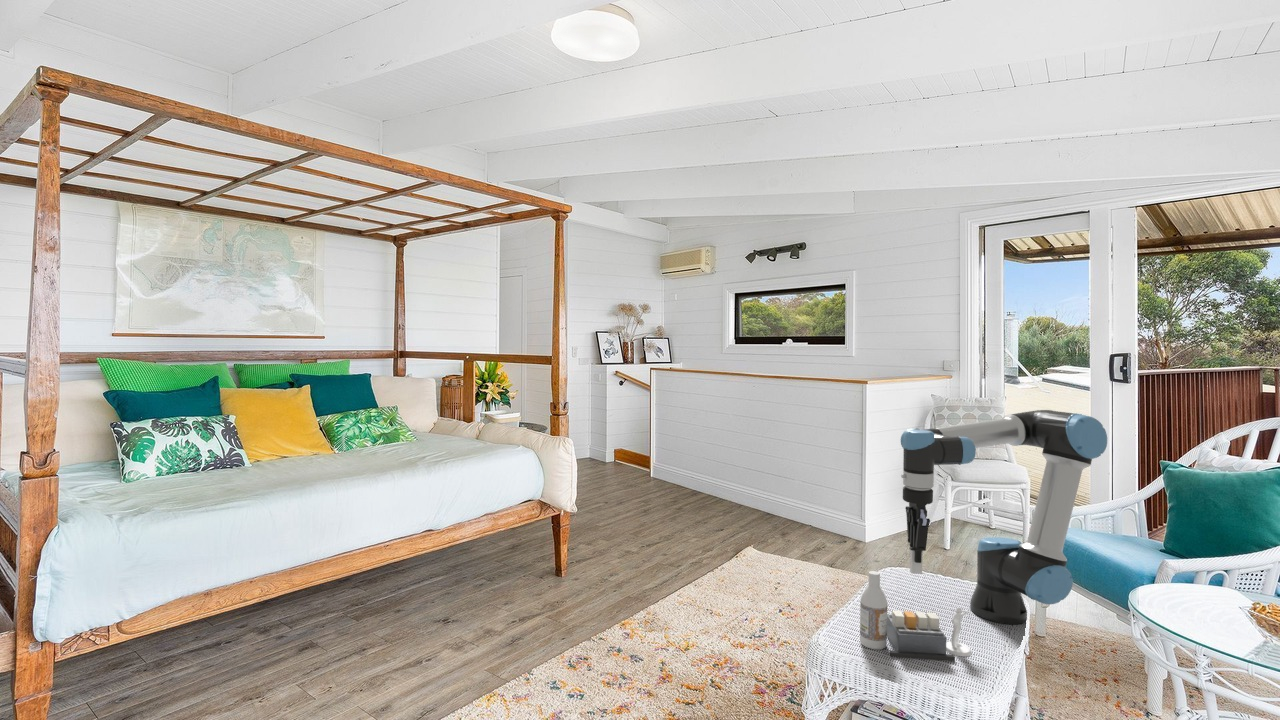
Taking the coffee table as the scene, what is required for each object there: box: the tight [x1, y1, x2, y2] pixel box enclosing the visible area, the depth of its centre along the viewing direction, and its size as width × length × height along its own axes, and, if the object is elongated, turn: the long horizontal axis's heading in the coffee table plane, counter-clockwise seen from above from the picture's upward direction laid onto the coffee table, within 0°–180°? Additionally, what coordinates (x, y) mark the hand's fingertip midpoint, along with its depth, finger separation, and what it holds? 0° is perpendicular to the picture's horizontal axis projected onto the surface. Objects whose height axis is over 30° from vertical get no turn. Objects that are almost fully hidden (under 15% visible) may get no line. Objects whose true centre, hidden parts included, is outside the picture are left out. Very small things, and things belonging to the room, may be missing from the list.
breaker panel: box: [887, 613, 947, 655], centre depth 167 cm, size 12×12×7 cm
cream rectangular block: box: [925, 612, 940, 630], centre depth 166 cm, size 2×4×3 cm, turn 172°
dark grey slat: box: [889, 649, 956, 662], centre depth 161 cm, size 16×1×1 cm, turn 82°
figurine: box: [946, 606, 973, 657], centre depth 165 cm, size 7×7×12 cm
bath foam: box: [859, 570, 888, 650], centre depth 168 cm, size 7×7×20 cm
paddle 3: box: [914, 611, 928, 629], centre depth 167 cm, size 2×4×3 cm, turn 172°
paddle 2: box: [903, 610, 916, 628], centre depth 167 cm, size 2×4×3 cm, turn 172°
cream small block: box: [891, 610, 904, 627], centre depth 167 cm, size 2×4×3 cm, turn 172°
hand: (915, 572), depth 166 cm, fingers closed
